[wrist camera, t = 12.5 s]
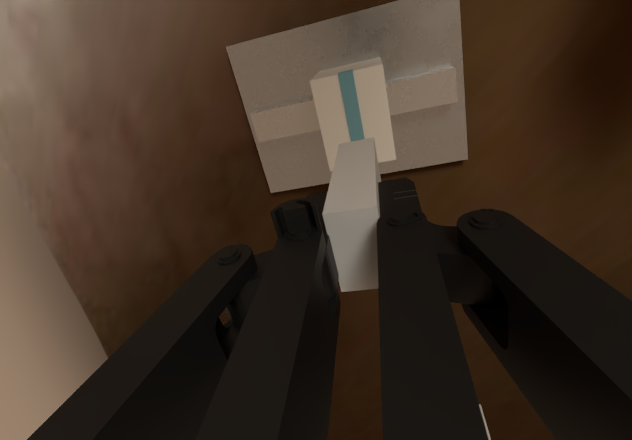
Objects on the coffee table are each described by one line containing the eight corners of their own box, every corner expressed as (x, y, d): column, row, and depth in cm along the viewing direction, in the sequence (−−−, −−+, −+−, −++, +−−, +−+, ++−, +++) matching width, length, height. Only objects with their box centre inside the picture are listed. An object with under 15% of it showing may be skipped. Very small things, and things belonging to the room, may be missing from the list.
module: (319, 70, 37) (309, 80, 30) (380, 56, 35) (382, 63, 29) (336, 149, 40) (330, 172, 34) (391, 138, 39) (396, 160, 33)
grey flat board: (229, 46, 38) (219, 47, 35) (456, -15, 33) (463, -18, 30) (272, 189, 44) (267, 199, 42) (465, 156, 40) (472, 164, 37)
